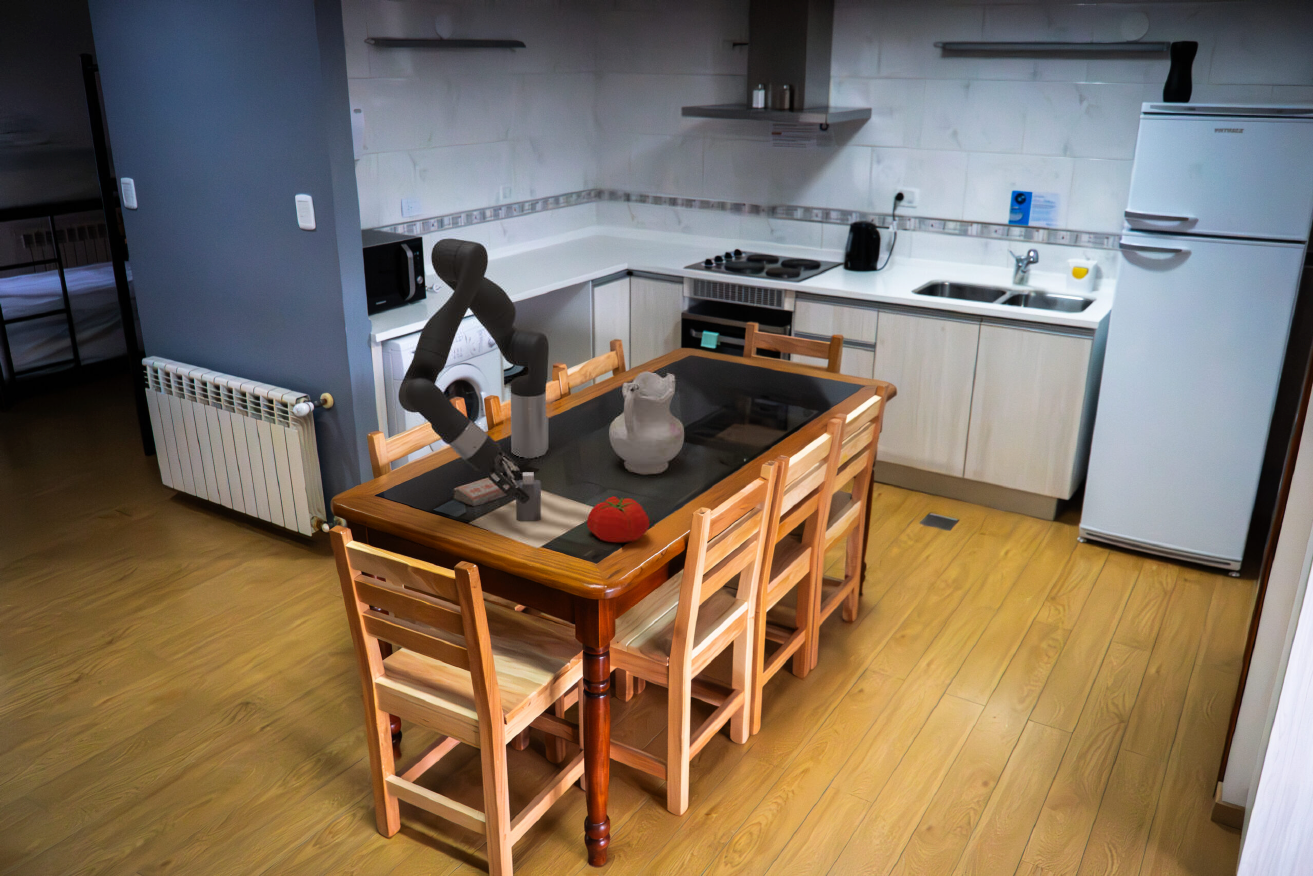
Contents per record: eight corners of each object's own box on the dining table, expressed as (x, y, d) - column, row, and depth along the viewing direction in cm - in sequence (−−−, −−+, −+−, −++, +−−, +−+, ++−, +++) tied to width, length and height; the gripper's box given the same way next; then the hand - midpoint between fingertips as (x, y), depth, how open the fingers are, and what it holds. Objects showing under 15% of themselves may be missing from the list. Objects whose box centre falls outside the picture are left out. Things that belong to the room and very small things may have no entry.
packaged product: (504, 466, 248) (529, 478, 242) (504, 484, 250) (530, 497, 244) (443, 485, 236) (468, 498, 230) (443, 504, 238) (468, 518, 231)
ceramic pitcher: (670, 491, 251) (682, 398, 242) (595, 477, 254) (604, 384, 245) (685, 460, 271) (697, 373, 262) (615, 447, 274) (624, 360, 265)
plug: (516, 515, 230) (515, 471, 226) (540, 515, 230) (540, 471, 226) (516, 521, 227) (515, 476, 223) (541, 521, 227) (540, 476, 223)
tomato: (648, 525, 230) (649, 490, 227) (649, 550, 219) (650, 514, 216) (587, 524, 230) (588, 488, 227) (585, 549, 218) (586, 512, 215)
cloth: (537, 493, 244) (537, 488, 244) (604, 515, 234) (604, 510, 234) (468, 527, 226) (468, 523, 225) (537, 553, 215) (537, 548, 215)
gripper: (484, 446, 213) (539, 494, 219) (487, 423, 227) (539, 469, 232) (460, 469, 215) (515, 517, 220) (464, 445, 228) (516, 490, 233)
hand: (527, 492), depth 226 cm, fingers open, 8 cm apart
